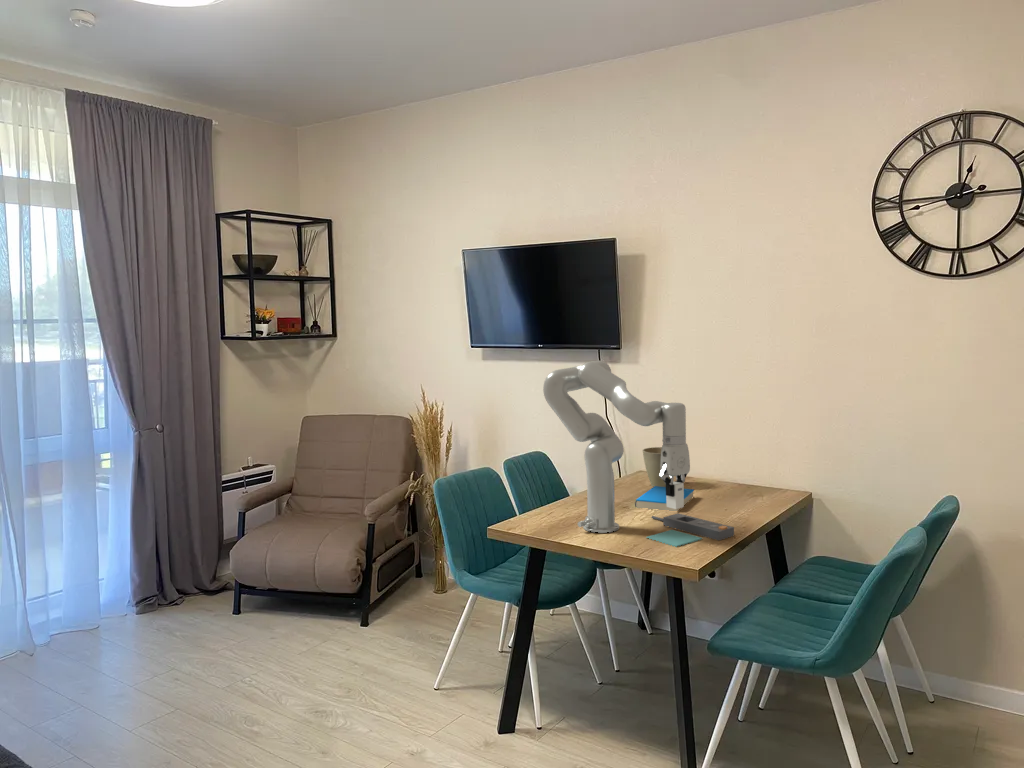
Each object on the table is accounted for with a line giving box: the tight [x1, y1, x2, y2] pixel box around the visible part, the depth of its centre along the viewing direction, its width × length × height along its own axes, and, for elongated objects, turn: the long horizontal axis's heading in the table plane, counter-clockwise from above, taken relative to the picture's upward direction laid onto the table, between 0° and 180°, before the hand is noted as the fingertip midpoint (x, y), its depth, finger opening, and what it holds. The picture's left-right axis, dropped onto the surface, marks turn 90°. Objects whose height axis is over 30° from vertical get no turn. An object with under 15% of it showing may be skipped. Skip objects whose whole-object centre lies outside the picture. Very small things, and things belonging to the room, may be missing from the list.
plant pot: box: [642, 446, 670, 487], centre depth 328 cm, size 15×15×16 cm
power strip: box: [650, 512, 735, 541], centre depth 264 cm, size 33×8×4 cm, turn 38°
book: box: [634, 486, 695, 512], centre depth 300 cm, size 17×4×25 cm
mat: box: [645, 529, 703, 548], centre depth 252 cm, size 13×13×1 cm
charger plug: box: [666, 480, 685, 509], centre depth 250 cm, size 4×4×8 cm
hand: (674, 494), depth 250 cm, fingers closed on charger plug, 4 cm apart
